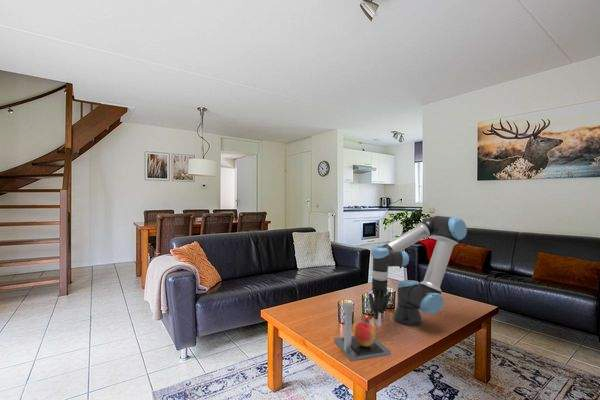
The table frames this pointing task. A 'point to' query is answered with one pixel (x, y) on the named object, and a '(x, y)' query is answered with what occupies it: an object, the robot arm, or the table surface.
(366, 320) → the lever
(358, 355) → the stand
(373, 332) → the apple
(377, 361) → the table surface
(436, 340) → the table surface
